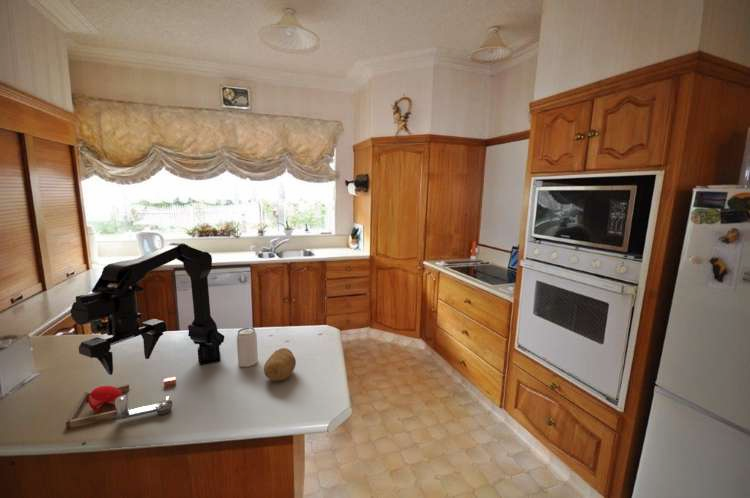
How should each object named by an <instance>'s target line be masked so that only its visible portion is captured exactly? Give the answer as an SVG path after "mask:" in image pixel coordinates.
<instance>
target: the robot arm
mask: <svg viewBox="0 0 750 498" xmlns="http://www.w3.org/2000/svg"><path fill="white" fill-rule="evenodd" d="M175 260H177V261H179V262H181V263H182V264H183V267H184V268H183V269H184V271H185V273H186V274H187V276H188V277H189V278H190V284H191V294H192V295H191V298H192V308H193V317H194V319H193V321H192V322H191V324H188V325H187V330H188V335H187V336H188V337H189V339H190V340H191V341H192V342H193V343H194V345H198V347H197V358H198V359H197V360H198V362H199V365H206V364H212V363H216V362H217V363H218V362H220V361H221V352H220V351H221V349H220V346H221V345H222V343H224V342H225V341H224V340H225V335H224V334H222V333H220V332H219V331H218V327H217V323H216V322H215V320H214V319H213V318H212V315H211V306H210V305H211V303H210V293H209V280H208V279H209V278H208V276H209V275H210V273H211V270H212V268H213V265H212V264H213V257H212V254H210V252H207V251H202V250H200V249H197V248H195V247H193V246H190V245H188V244H186V243H183V242H172V243H169V244H168V245H166V246H164V247H161V248H158V249H157V250H154V251H152V252H149V253H148V254H144V255H142V256H140V257H138V258H134V259H130V260H129V259H128V260H121V261H117V262H113V263H109V264H107V265H105V266H104V267H103V268H102V272H101V275H100V276H99V278H98V280H96V283H95V285H94V286H93V288H92V289H91V292H92V293H88V294H81V295H80V294H79V295H76V296H75V302H73V303H72V305H71V309H70V315H71V318H72V320H73V321H74V322H75V323H76V324H77V325H79V326H84V325H86V324H90V329H91V330H90V331H91V333H92V334H93V335H94V334H99V333H100V335H102V336H103V335H107V336H111V337H108V338H106V339H104V338H101V337H98V336H97V337H94V338H90V339H88V340H85V341H82V342H80V344H79V346H78V354H80V355H83V356H85V357H87V358H88V357H89V358H91V359H92V358H94V359H97V360H98V361H99V362H100V364H101V365H102V367H103V368H104V371H106V373H107V375H110V376H112V375H113V372H114V361H113V360H114V358H113V352H112V351H110V350H111V347H112V346H113V345H116V344H120V343H122V342H125V341H127V340H130V339H133V338H137V337H138V336H141V337H142V340H143V353H144V359H146V360H149V359H150V358H151V355H152V353H153V351H154V349H155V346H156V344H157V343H158V341H159V339H160V338H161V337H162V336H164V332H167V331H168V324H167V322H166V321H164V320H161V319H156V318H152V319H148V320H146V321H143V322H141V323H140V322H139V319H140V318H142V313H141V312H138V301H137V293H139V292H142V291H144V290H145V287H143V286H140V285H139V284H138V283H139V282H141V281H142V280H144V278H145V277H146V275H147V274H148V273H150V272H152V271H154V270H156V269H157V268H160V267H162V266H164V265H167V264H168V263H170V262H173V261H175ZM103 319H106V320H107V321H103Z"/></svg>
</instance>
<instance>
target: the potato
mask: <svg viewBox="0 0 750 498" xmlns="http://www.w3.org/2000/svg"><path fill="white" fill-rule="evenodd" d="M296 365H297V360H296V357H295V356H294V354H293V352H292V351H291V350H290V349H288V348H286V347H285V348H279V349H277V350H275V351H274V352H273V353H272V354H271V355H270V356H269V357H268V359H267V360H266V362H265V363H264V365H263V371H264V372H263V373H264V375H265V376H266V378H267V379H269V380H270V381H272V382H273V381H274V382H281V381H284V380H285V379H287V378H288V377H290V376H291V375H292V374H293V372H294V370H295V368H296Z"/></svg>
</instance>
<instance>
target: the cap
mask: <svg viewBox="0 0 750 498" xmlns="http://www.w3.org/2000/svg"><path fill="white" fill-rule="evenodd" d="M116 387H117V386H112V385H102V386H98V387H95V388H94V389H92V390H91V391H92V392H91V391H90V392H91V393H90V396H89V399H88V405H89V406H90V407H89V408H91V409H92V410H93V411H94V413H95V414H99V413H100V409H99V408H98V407H101V406H102V405H103V404H107V403H114V404H115V399H116V398H117V397H120V396H123V392H121V391H120V390H119V389H118V388H116Z"/></svg>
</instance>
